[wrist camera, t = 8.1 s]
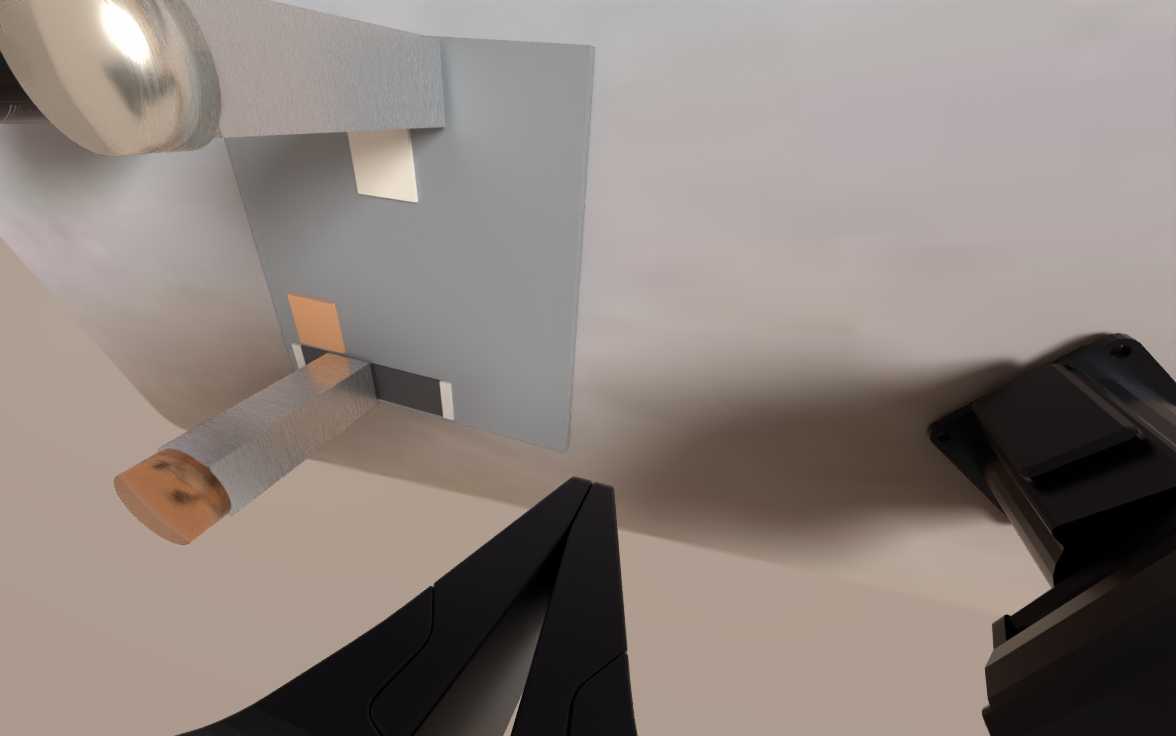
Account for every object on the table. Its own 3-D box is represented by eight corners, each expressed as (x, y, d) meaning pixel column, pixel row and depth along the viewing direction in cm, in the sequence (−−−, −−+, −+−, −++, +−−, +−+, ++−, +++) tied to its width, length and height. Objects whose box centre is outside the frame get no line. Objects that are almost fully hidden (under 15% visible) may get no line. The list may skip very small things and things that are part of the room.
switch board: (594, 47, 16) (588, 45, 15) (568, 446, 25) (563, 455, 24) (203, 24, 20) (184, 21, 19) (303, 374, 29) (293, 380, 28)
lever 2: (374, 358, 25) (169, 490, 16) (384, 411, 27) (204, 555, 18) (321, 344, 26) (98, 464, 17) (334, 397, 28) (139, 528, 19)
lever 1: (448, 26, 16) (78, -77, 7) (455, 139, 18) (168, 165, 9) (363, 21, 17) (-61, -76, 8) (378, 130, 19) (46, 146, 10)
